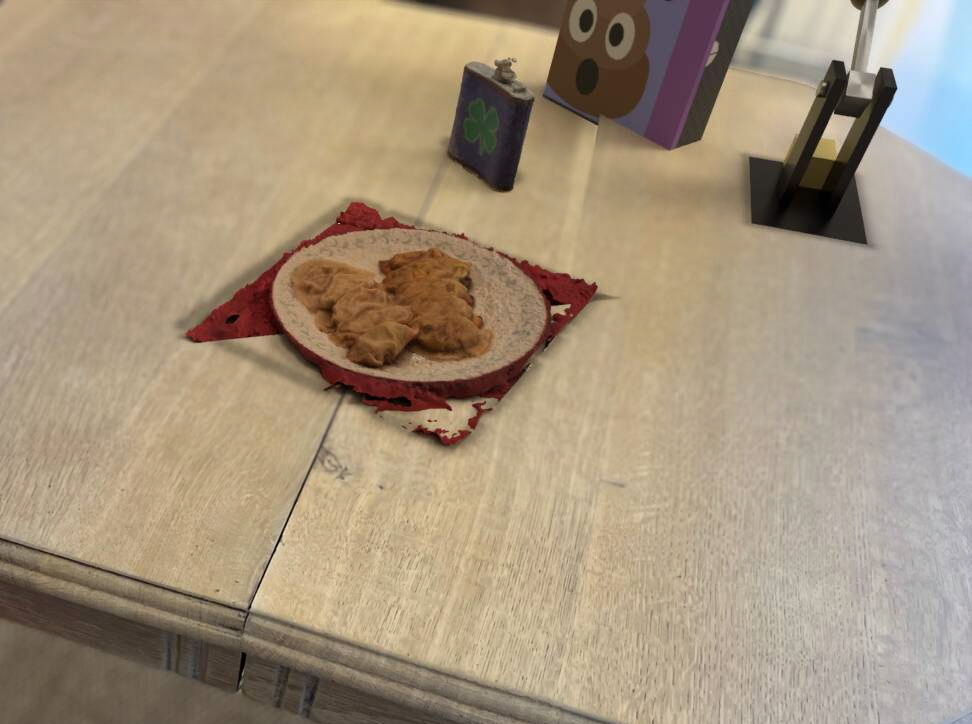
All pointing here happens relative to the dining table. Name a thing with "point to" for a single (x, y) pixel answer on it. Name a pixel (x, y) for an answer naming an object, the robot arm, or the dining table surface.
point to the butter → (817, 163)
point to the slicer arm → (860, 63)
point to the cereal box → (646, 63)
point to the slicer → (838, 198)
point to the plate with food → (404, 312)
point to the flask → (491, 123)
